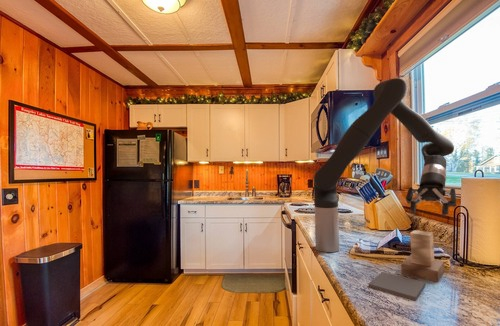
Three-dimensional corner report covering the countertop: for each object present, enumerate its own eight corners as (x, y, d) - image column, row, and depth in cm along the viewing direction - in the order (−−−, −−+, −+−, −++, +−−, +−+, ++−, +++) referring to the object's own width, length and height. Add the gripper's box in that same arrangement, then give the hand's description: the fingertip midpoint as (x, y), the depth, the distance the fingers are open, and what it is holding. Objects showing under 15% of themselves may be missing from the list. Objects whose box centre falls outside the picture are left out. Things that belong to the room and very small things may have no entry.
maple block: (411, 262, 78) (410, 232, 78) (415, 258, 81) (414, 230, 82) (431, 266, 74) (429, 235, 75) (434, 262, 78) (433, 232, 78)
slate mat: (368, 286, 69) (368, 283, 69) (382, 274, 77) (382, 271, 77) (415, 300, 61) (415, 297, 61) (425, 285, 69) (425, 282, 69)
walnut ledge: (401, 273, 77) (401, 263, 77) (410, 263, 85) (410, 254, 85) (438, 282, 71) (437, 271, 71) (444, 270, 78) (444, 261, 78)
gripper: (408, 171, 98) (402, 204, 89) (456, 171, 88) (453, 208, 79) (412, 184, 102) (406, 217, 93) (458, 185, 91) (456, 222, 83)
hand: (428, 213), depth 86 cm, fingers open, 8 cm apart
